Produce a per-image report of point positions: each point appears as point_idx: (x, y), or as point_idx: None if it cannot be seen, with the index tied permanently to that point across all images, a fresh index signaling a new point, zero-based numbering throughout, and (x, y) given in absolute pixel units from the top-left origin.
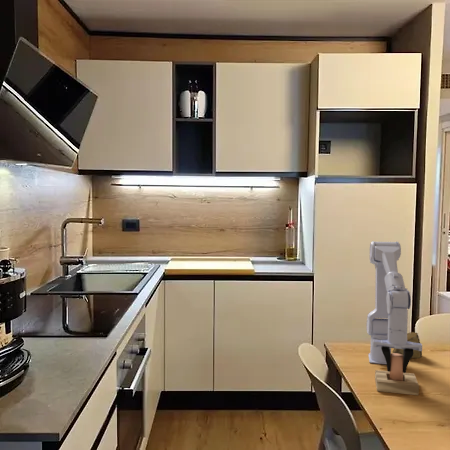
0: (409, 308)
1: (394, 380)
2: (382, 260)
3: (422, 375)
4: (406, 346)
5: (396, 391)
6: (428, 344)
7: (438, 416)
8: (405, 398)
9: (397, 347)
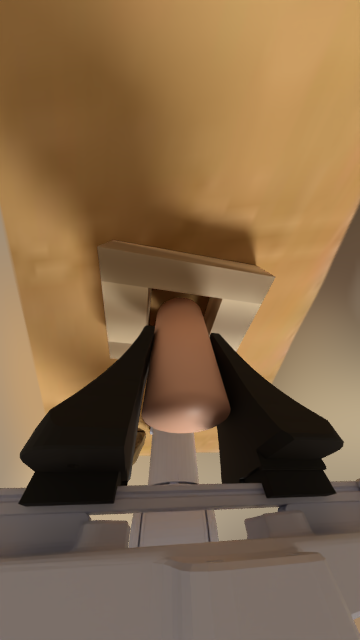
0: None
1: (192, 303)
2: None
3: (93, 376)
4: (72, 604)
5: (193, 255)
6: None
7: None
8: (172, 196)
9: (302, 595)
